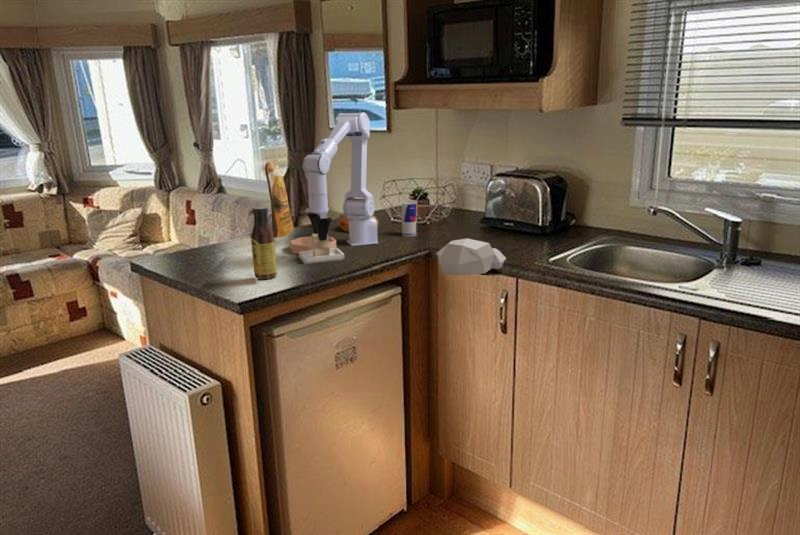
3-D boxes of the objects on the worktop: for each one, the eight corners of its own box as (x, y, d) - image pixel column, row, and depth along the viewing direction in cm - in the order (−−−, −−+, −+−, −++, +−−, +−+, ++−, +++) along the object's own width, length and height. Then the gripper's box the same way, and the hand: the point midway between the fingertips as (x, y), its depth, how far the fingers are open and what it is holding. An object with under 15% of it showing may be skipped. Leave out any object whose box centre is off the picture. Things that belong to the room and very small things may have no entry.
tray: (337, 253, 195) (337, 248, 195) (344, 259, 186) (344, 254, 186) (299, 257, 191) (298, 251, 191) (304, 263, 182) (303, 258, 182)
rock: (436, 262, 181) (436, 231, 178) (503, 262, 180) (504, 230, 177) (436, 279, 163) (436, 244, 161) (511, 278, 162) (512, 243, 159)
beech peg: (326, 254, 191) (325, 232, 190) (329, 257, 187) (328, 235, 186) (313, 255, 190) (311, 234, 188) (315, 258, 186) (314, 236, 184)
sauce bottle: (256, 275, 171) (250, 205, 166) (278, 274, 172) (273, 204, 167) (252, 281, 165) (246, 209, 160) (275, 280, 165) (270, 208, 160)
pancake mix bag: (264, 240, 218) (257, 162, 211) (281, 230, 236) (276, 158, 229) (282, 240, 217) (276, 162, 210) (298, 230, 235) (293, 158, 228)
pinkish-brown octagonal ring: (330, 243, 211) (329, 234, 210) (339, 251, 197) (339, 242, 196) (288, 247, 206) (287, 238, 205) (295, 256, 193) (294, 247, 192)
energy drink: (415, 237, 217) (414, 204, 214) (400, 237, 218) (400, 204, 215) (418, 234, 222) (417, 202, 219) (403, 234, 223) (403, 201, 220)
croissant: (366, 226, 241) (365, 206, 239) (384, 232, 228) (384, 211, 226) (333, 230, 234) (332, 210, 232) (350, 236, 221) (349, 215, 219)
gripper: (300, 192, 189) (303, 234, 193) (309, 198, 176) (312, 243, 179) (323, 190, 191) (325, 232, 195) (332, 196, 178) (335, 241, 181)
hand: (320, 237), depth 187 cm, fingers open, 7 cm apart
